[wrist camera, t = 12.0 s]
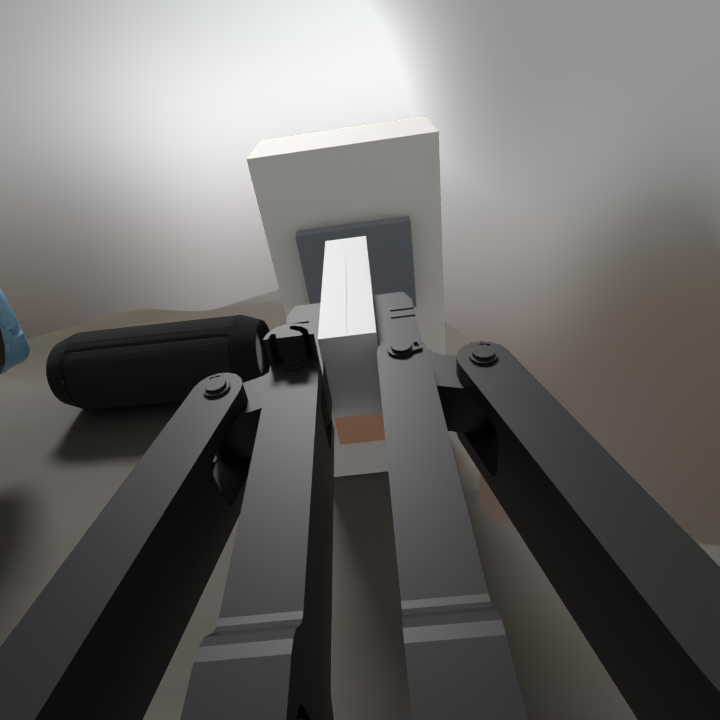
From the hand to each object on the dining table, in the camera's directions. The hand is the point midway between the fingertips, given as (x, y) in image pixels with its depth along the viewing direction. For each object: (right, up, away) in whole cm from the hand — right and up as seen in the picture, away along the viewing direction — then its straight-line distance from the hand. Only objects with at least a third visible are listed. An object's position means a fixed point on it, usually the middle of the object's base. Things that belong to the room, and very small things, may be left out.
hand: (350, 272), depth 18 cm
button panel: (+3, -13, +31) cm, 34 cm away
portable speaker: (-23, -8, +44) cm, 50 cm away
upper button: (+1, +2, +19) cm, 20 cm away
